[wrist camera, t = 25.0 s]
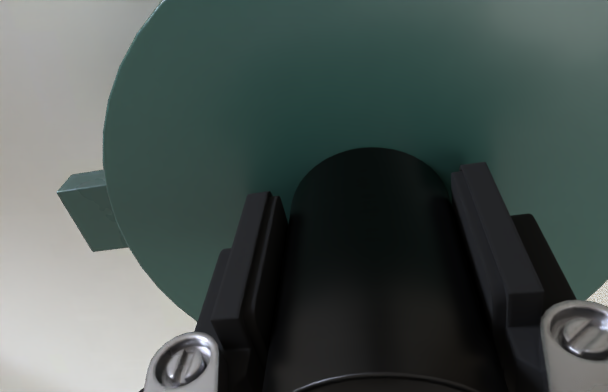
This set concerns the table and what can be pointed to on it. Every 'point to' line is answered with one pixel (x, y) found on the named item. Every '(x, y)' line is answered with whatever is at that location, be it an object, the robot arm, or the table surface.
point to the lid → (362, 167)
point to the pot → (92, 210)
